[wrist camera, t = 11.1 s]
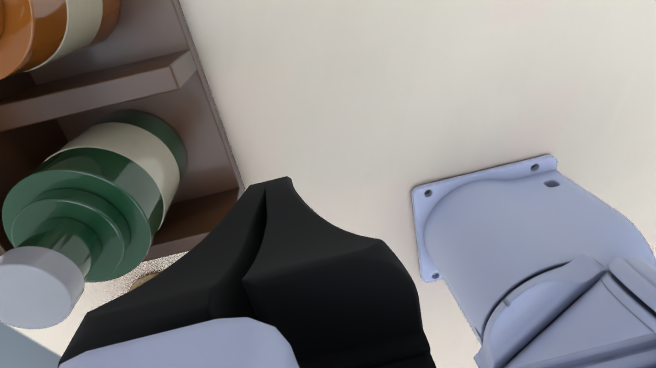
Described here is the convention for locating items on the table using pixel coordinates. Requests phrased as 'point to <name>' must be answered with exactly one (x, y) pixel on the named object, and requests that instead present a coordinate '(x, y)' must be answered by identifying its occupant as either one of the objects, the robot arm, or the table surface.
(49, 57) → the amber bottle
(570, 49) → the table surface
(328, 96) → the table surface
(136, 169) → the dark green bottle
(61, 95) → the rack
